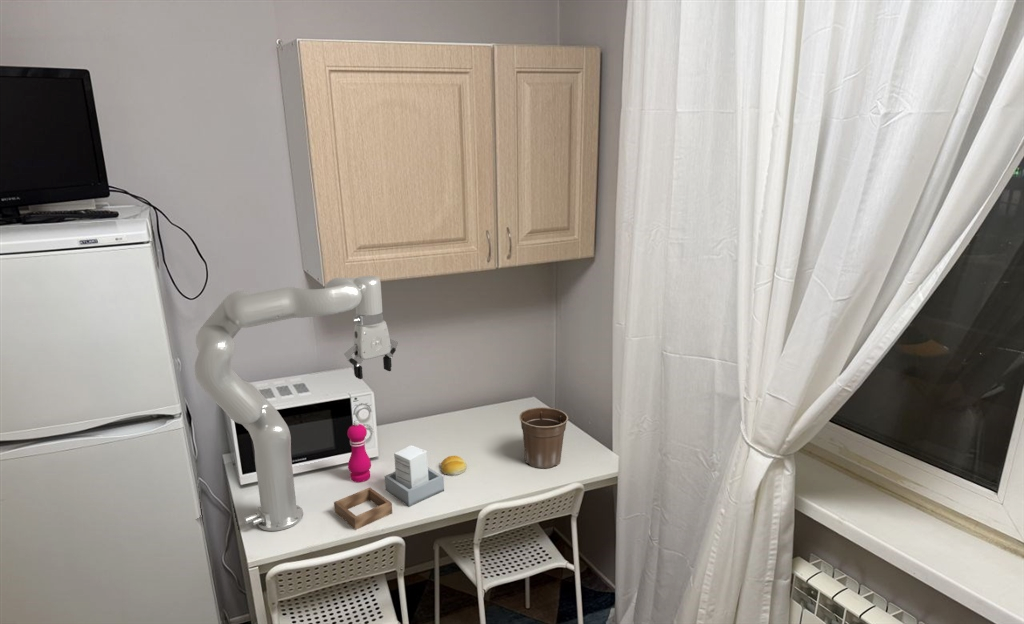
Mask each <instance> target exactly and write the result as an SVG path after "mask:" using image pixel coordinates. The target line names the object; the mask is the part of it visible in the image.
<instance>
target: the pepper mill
mask: <svg viewBox="0 0 1024 624" xmlns="http://www.w3.org/2000/svg"><path fill="white" fill-rule="evenodd" d="M367 433H368V431H367V428H366V427H365V425H363V424H361V423H360V421H359V420H353V424H351V426H349V427H348V429H347V435H346V436H347V437H348V439H349V445H350V446H351V454H350V457H349V460H348V463H347V465H348V466H347V469H348V471H350V480H351V481H352V482H354V483H363V482H367V481H368V480H369V479H370V478H371V471H370V469H371V467H372V462H371V459H370V457H369V454H368V452H367V451H366V447H365V446H366V443H367V441H366V436H367Z"/></svg>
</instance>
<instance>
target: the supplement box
mask: <svg viewBox="0 0 1024 624" xmlns="http://www.w3.org/2000/svg"><path fill="white" fill-rule="evenodd" d="M393 454H394V455H393V456H394V472H395V473H396V481H397V482H399V483H400V484H402V485H403V486H405V487H406V488H408V489H411V488H413V487H416V486H418V485H420V484H423V483H425V482H427V481H429V478H428V468H429V463H428V450H425V449H424V448H423V449H422V448H420V447H418V446H414V445H413V444H410V445H408V446H406V447H404V448H402V449H401V450H398V451H396V452H394V453H393Z"/></svg>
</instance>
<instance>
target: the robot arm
mask: <svg viewBox="0 0 1024 624" xmlns="http://www.w3.org/2000/svg"><path fill="white" fill-rule="evenodd" d="M382 299H383V297H382V283H381V279H380V278H379V277H378V276H376V275H361V276H358V277H334V278H332V279H330V280H328V282H326V284H325V286H324V288H317V289H316V288H315V289H311V288H300V287H295V286H294V287H292V286H290V287H289V286H287V287H281V288H276V289H271V290H265V291H260V292H255V293H250V292H247V291H244V290H237V291H233V292H231V293H230V294H228V295H227V296H226V297H225V298H224V299H223V300H222V301H221V303H219V305H218V306H217V307H216V308H215V310H214V311H213V312H212V314H211V315H210V316H209V317H208V318H207V319H206V321H205V322H204V323H203V324H202V325H201V327H200V329H199V330H198V331H197V334H196V337H195V344H196V345H195V346H196V348H197V350H198V354H197V355H196V359H195V364H194V375H195V379H196V381H197V383H198V384H199V386H200V387H201V388H202V389H203V391H204V392H206V393H207V394H208V396H209V397H211V399H212V400H213V402H215V403H216V404H217V405H218V406H219V407H220V409H222V411H224V413H225V414H226V415H227V417H229V419H230V420H232V421H233V422H234V423H236V424H239V425H242V426H243V427H244V429H246V431H248V433H249V435H250V438H251V440H252V442H253V448H254V463H255V464H254V465H255V471H256V476H257V477H256V479H257V487H258V495H259V501H260V502H259V503H260V506H259V507H257V511H255V512H254V513H253V514H250V515H247V516H245V517H243V520H244V523H245V525H249V524H250V523H251V524H252V525H253V526H256V525H257V527H258V528H259V529H261V530H264V531H269V532H277V531H282V530H286V529H289V528H291V527H293V526H295V525H296V524H298V523H299V522H300V521H301V520H302V519H303V516H304V511H303V508H302V507H301V506H299V505H298V504H297V499H296V489H295V480H294V479H295V477H294V472H293V471H294V470H293V461H292V445H291V443H292V437H291V436H292V435H291V432H290V429H289V426H288V424H287V423H286V421H285V420H284V418H283V417H282V415H281V414H280V412H279V411H278V410H277V409H276V407H275V406H273V404H272V403H270V401H269V400H268V399H267V398H266V397H265V396H264V395H263V394H262V393H261V392H260V391H259V390H258V388H256V387H255V386H254V385H253V384H252V383H251V382H249V381H246V380H243V379H241V377H240V376H239V375H238V374H237V373H236V372H235V371H234V369H232V365H231V363H232V359H233V357H234V354H235V350H236V347H235V346H236V345H235V342H234V340H233V339H234V338H235V337H236V335H238V333H239V331H240V330H241V329H242V328H243V329H247V328H253V327H257V326H262V325H267V324H270V323H271V324H272V323H276V322H281V321H285V320H289V319H290V320H291V319H296V318H299V319H304V318H315V317H324V316H325V317H327V316H332V315H336V314H341V313H344V312H348V311H351V310H354V309H355V316H354V317H353V318H352V322H353V323H355V325H354V329H353V345H352V346H351V347H350V348H349V349H348V350H346V351H345V352H344V353H343V354H344V358H345V359H347V362H349V363H350V364H351V365H353V374H354V376H355V378H357V379H358V380H363V376H364V374H363V366H362V362H363V361H364V360H365V361H366V360H371V359H374V358H378V357H383V358H382V360H383V362H382V363H383V369H384V370H385V371H387V372H392V366H393V365H392V359H393V357H394V354H395V352H396V348H397V346H398V344H399V342H398V341H396V340H394V339H391V338H390V333H389V327H388V325H387V322H386V321H385V320H384V316H383V300H382ZM353 354H354V358H353V356H352V355H353Z"/></svg>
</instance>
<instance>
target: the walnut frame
mask: <svg viewBox="0 0 1024 624" xmlns="http://www.w3.org/2000/svg"><path fill="white" fill-rule="evenodd" d="M368 501H370V502H371V503H373V504H374V505H376V507H374V508H372V509H369V510H367V511H364V512H362V513H360V514H358V515H356V514H354V513H353V512H352V511H351V510H350V509H352V508H354V507H357V506H359V505H362V504H363V503H366V502H368ZM392 503H393V502H391V501H390V500H389V499H387V498H386V497H385V496H383V495H381V494H380V492H377V491H376V490H375V489H373V488H371V487H368V488H365V489H362V490H360V491H358V492H355V493H352V494H351V495H347V496H346V497H343V498H341V499H340V498H339V499H337V500H336V501H333V507H334V514H336V515H337V516H338V517H340V519H342V520H343V521H344V522H346V523H347V524H348V525H349V526H350V527H352V529H354V530H355V531H356V530H359V529H361V528H363V527H365V526H367V525H370V524H373V523H374V522H377V521H379V520H381V519H383V518H385V517H388V516H389V515H392V514H393V504H392Z"/></svg>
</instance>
